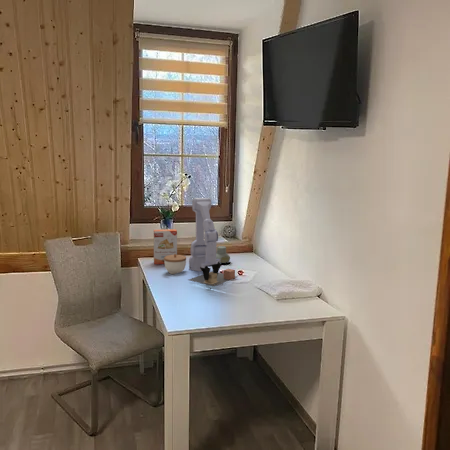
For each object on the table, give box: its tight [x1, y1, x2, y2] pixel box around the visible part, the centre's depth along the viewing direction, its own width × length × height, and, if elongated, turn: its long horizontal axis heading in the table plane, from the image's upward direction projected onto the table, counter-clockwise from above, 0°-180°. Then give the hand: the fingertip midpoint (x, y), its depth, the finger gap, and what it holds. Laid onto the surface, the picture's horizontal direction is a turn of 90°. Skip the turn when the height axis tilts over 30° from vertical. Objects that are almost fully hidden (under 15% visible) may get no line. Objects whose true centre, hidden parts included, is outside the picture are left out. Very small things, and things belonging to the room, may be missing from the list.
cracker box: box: [153, 228, 178, 265], centre depth 296 cm, size 14×6×21 cm, turn 102°
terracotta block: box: [223, 268, 236, 281], centre depth 264 cm, size 4×4×4 cm
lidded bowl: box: [164, 254, 187, 275], centre depth 276 cm, size 13×13×11 cm
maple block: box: [205, 271, 217, 284], centre depth 257 cm, size 4×4×4 cm
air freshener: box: [216, 245, 231, 264], centre depth 300 cm, size 11×8×10 cm
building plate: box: [188, 270, 238, 287], centre depth 264 cm, size 18×22×1 cm
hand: (210, 278), depth 257 cm, fingers open, 7 cm apart
